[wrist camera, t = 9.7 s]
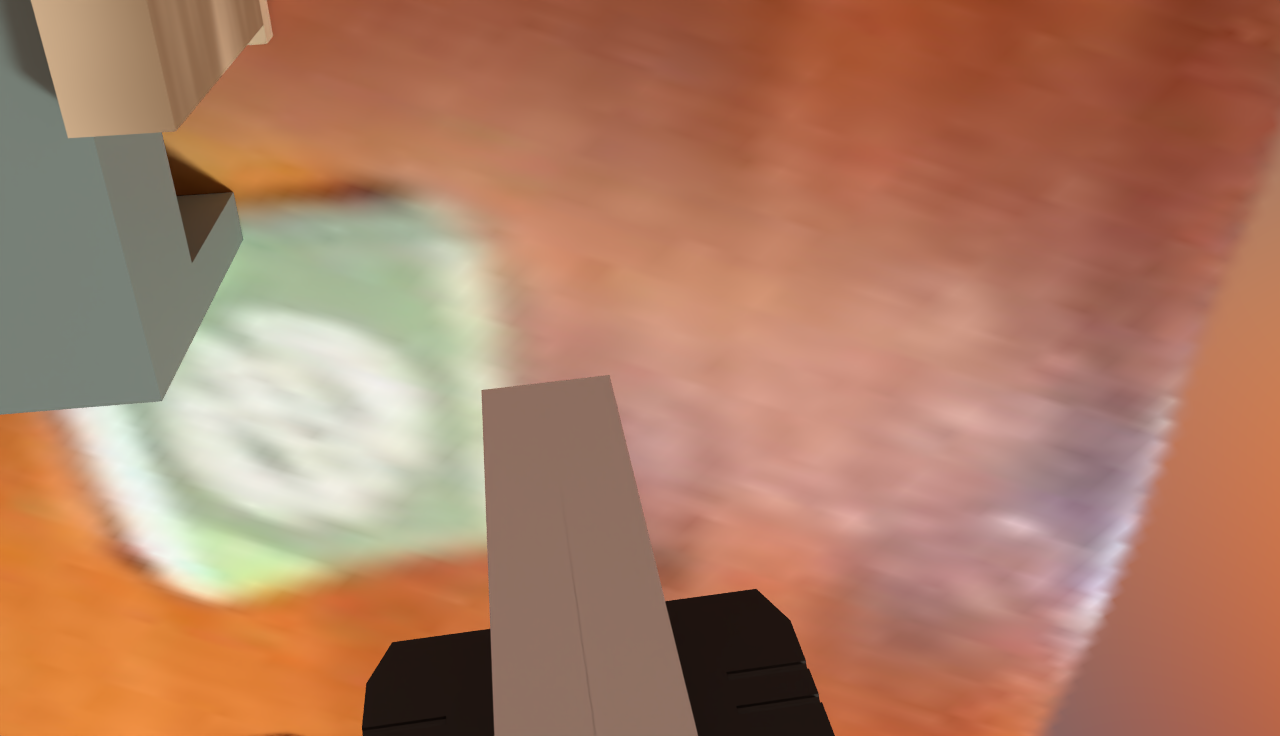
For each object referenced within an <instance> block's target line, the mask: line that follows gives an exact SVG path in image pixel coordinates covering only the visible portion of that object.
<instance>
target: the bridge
mask: <svg viewBox="0 0 1280 736" xmlns="http://www.w3.org/2000/svg"><path fill="white" fill-rule="evenodd" d="M242 241H243V236H242V232H241V227H240V222H239V217H238V212H237V207H236V203H235V198H234V193H233V192H228V193H213V194H198V195H184V196H176V192H175V188H174V184H173V179H172V175H171V171H170V166H169V162H168V158H167V153H166V149H165V145H164V140H163V136H162V132H158V133H143V134H127V135H111V136H96V137H80V138H68V136H67V132H66V129H65V125H64V121H63V117H62V114H61V110H60V106H59V103H58V99H57V95H56V92H55V88H54V84H53V81H52V77H51V73H50V69H49V66H48V62H47V58H46V55H45V51H44V47H43V44H42V40H41V36H40V33H39V29H38V25H37V21H36V18H35V14H34V10H33V7H32V3H31V0H0V414H12V413H24V412H36V411H48V410H60V409H72V408H84V407H96V406H108V405H120V404H132V403H144V402H156V401H162V400H163V398H164V396H165V394H166V392H167V390H168V388H169V386H170V384H171V382H172V380H173V378H174V376H175V374H176V372H177V370H178V368H179V366H180V364H181V362H182V360H183V358H184V356H185V354H186V352H187V350H188V348H189V346H190V344H191V342H192V340H193V338H194V336H195V334H196V332H197V330H198V328H199V326H200V324H201V322H202V320H203V318H204V316H205V314H206V312H207V310H208V308H209V306H210V304H211V302H212V300H213V298H214V296H215V294H216V292H217V290H218V288H219V286H220V284H221V282H222V280H223V278H224V276H225V274H226V272H227V270H228V268H229V267H230V265H231V263H232V261H233V259H234V257H235V255H236V253H237V251H238V249H239V247H240V245H241V243H242Z"/></svg>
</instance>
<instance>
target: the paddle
mask: <svg viewBox="0 0 1280 736" xmlns="http://www.w3.org/2000/svg"><path fill="white" fill-rule="evenodd" d="M31 3H32V7H33V10H34V14H35V18H36V21H37V25H38V29H39V33H40V36H41V40H42V44H43V47H44V51H45V55H46V58H47V62H48V66H49V69H50V73H51V77H52V81H53V84H54V88H55V92H56V95H57V99H58V103H59V106H60V110H61V114H62V117H63V121H64V125H65V129H66V132H67V136H68V138H80V137H96V136H111V135H127V134H143V133H158V132H174V131H177V129H178V128H179V127H180V126H181V125H182V123H183V122H184V121H185V120H186V119H187V117H188V116H189V115H190V114H191V112H192V111H193V110H194V109H195V108H196V106H197V105H198V104H199V103H200V102H201V100H202V99H203V98H204V97H205V95H206V94H207V93H208V92H209V91H210V89H211V88H212V87H213V86H214V85H215V83H216V82H217V81H218V80H219V78H220V77H221V76H222V75H223V74H224V72H225V71H226V70H227V69H228V68H229V66H230V65H231V64H232V63H233V61H234V60H235V59H236V58H237V57H238V55H239V54H240V53H241V52H242V51H243V49H244V48H245V47H246V46H247V45H256V44H267V43H268V42H269V41H270V39H271V38H272V37H273V33H272V27H271V22H270V16H269V11H268V5H267V0H31Z"/></svg>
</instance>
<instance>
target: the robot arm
mask: <svg viewBox="0 0 1280 736" xmlns="http://www.w3.org/2000/svg"><path fill="white" fill-rule="evenodd" d="M482 415H483V441H484V468H485V495H486V522H487V549H488V576H489V603H490V629H486V630H478V631H471V632H464V633H457V634H449V635H442V636H435V637H428V638H420V639H413V640H406V641H399V642H392V644H391V645H390V647H389V648H388V650H387V652H386V653H385V655H384V656H383V658H382V660H381V661H380V663H379V664H378V666H377V668H376V669H375V671H374V672H373V674H372V676H371V677H370V679H369V680H368V682H367V684H366V693H365V703H364V713H363V723H362V732H363V736H835V735H834V732H833V730H832V727H831V725H830V722H829V720H828V717H827V714H826V712H825V709H824V707H823V704H822V702H821V703H820V700H819V694H818V691H817V688H816V686H815V683H814V681H813V678H812V675H811V673H810V670H809V669H807V666H806V660H805V657H804V655H803V652H802V650H801V647H800V644H799V642H798V639H797V637H796V634H795V631H794V629H793V626H792V624H791V621H790V620H789V619H788V618H787V617H786V616H785V615H784V614H783V613H782V612H781V611H779V610H778V609H777V608H776V607H775V606H774V605H773V604H772V603H771V602H770V601H769V600H768V599H767V598H765V597H764V596H763V595H762V594H761V593H760V592H759V591H758V590H757V589H752V590H744V591H737V592H730V593H723V594H715V595H708V596H701V597H694V598H686V599H679V600H672V601H665V599H664V595H663V591H662V587H661V583H660V579H659V575H658V571H657V567H656V563H655V559H654V554H653V550H652V546H651V542H650V538H649V534H648V530H647V526H646V522H645V518H644V514H643V510H642V506H641V502H640V497H639V493H638V489H637V485H636V481H635V477H634V473H633V469H632V465H631V461H630V457H629V453H628V449H627V445H626V440H625V436H624V432H623V428H622V424H621V420H620V416H619V412H618V408H617V404H616V400H615V396H614V392H613V388H612V383H611V379H610V375H606V376H598V377H589V378H581V379H572V380H564V381H555V382H547V383H539V384H530V385H522V386H513V387H505V388H496V389H488V390H482Z"/></svg>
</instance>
